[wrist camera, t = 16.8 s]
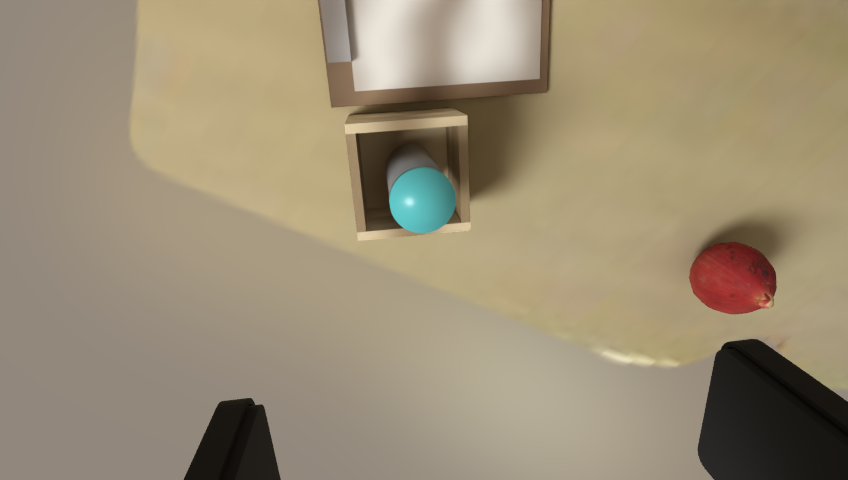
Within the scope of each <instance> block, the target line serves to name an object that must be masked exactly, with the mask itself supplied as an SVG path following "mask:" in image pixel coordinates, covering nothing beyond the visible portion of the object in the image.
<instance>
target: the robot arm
mask: <svg viewBox="0 0 848 480" xmlns="http://www.w3.org/2000/svg"><path fill="white" fill-rule="evenodd" d="M698 456H699V458H700V461H701V463H702V465H703V466H704V468H705V469H706V470H707V472H708V473H709V474H710V475H711V476H712V478H713V479H714V480H848V402H847V401H846V400H844V399H843V398H842V397H840V396H839V395H837V394H836V393H834V392H833V391H832V390H830V389H829V388H827V387H826V386H824V385H823V384H822V383H820V382H819V381H817V380H816V379H814V378H813V377H812V376H810V375H809V374H807V373H806V372H805V371H803V370H802V369H800V368H799V367H797V366H796V365H795V364H793V363H792V362H790V361H789V360H787V359H786V358H785V357H783V356H782V355H780V354H779V353H777V352H776V351H775V350H773V349H772V348H770V347H769V346H767V345H766V344H765V343H763V342H761V341H759V340H757V339H748V340H740V341H731V342H727V343H725V344H724V345H723V346H722V348H721V350H720V351H718V352H717V353H716V356H715V361H714V367H713V372H712V376H711V382H710V387H709V392H708V397H707V403H706V408H705V413H704V419H703V423H702V429H701V434H700V439H699V444H698ZM184 480H281V479H280V475H279V471H278V466H277V462H276V457H275V453H274V448H273V444H272V439H271V435H270V431H269V426H268V422H267V417H266V413H265V409H264V406H263V405H255V403H254V401H253V400H252V399H251V398H246V399H237V400H229V401H222V402H220V403H219V404H218V406H217V408H216V410H215V412H214V414H213V416H212V419H211V421H210V423H209V425H208V427H207V430H206V432H205V434H204V436H203V438H202V441H201V443H200V445H199V447H198V449H197V452H196V454H195V456H194V458H193V460H192V463H191V465H190V467H189V469H188V471H187V474H186V476H185V478H184Z"/></svg>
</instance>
